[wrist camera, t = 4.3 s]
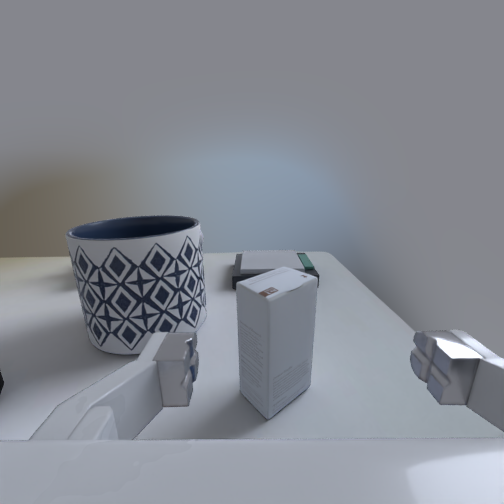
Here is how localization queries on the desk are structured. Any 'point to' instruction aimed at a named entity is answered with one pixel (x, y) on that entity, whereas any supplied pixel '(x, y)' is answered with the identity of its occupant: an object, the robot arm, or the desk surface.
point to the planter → (138, 279)
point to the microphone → (1, 382)
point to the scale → (269, 263)
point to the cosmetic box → (275, 337)
